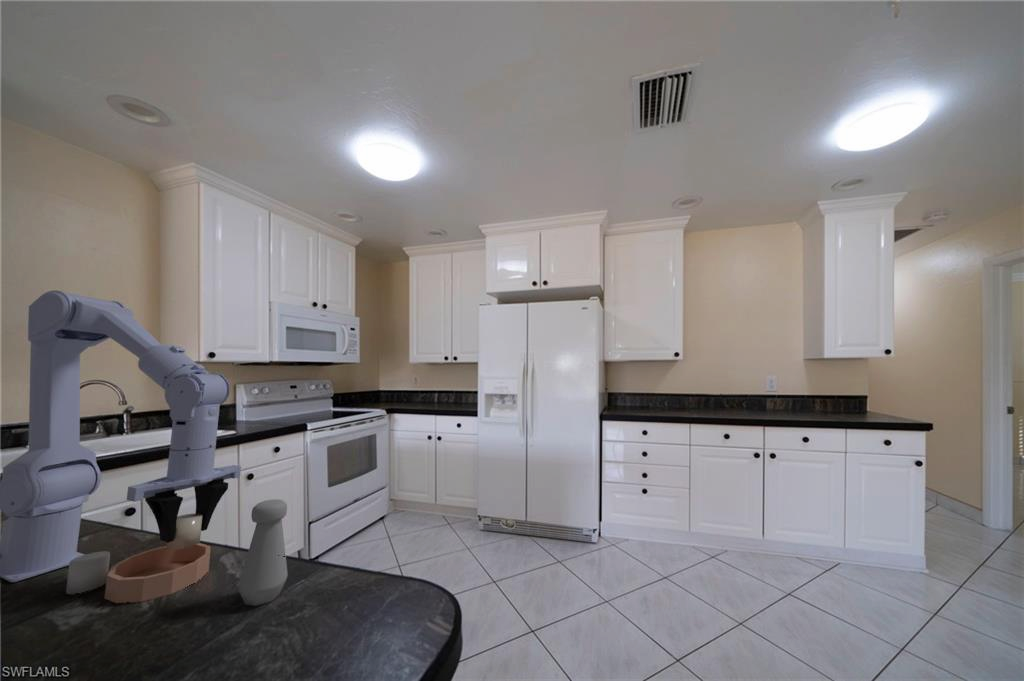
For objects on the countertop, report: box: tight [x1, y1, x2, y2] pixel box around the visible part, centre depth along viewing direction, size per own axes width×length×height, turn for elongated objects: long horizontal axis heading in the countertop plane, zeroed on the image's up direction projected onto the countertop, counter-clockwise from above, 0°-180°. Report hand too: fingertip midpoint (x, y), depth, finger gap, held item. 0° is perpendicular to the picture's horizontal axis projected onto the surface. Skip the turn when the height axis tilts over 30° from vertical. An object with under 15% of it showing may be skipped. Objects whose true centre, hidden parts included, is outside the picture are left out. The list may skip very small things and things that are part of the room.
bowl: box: [104, 542, 211, 604], centre depth 56 cm, size 11×11×3 cm
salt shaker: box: [238, 498, 288, 607], centre depth 53 cm, size 6×6×13 cm
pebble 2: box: [166, 513, 202, 550], centre depth 59 cm, size 4×4×4 cm
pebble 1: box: [65, 550, 111, 595], centre depth 54 cm, size 4×4×4 cm
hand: (184, 534), depth 59 cm, fingers closed on pebble 2, 4 cm apart
